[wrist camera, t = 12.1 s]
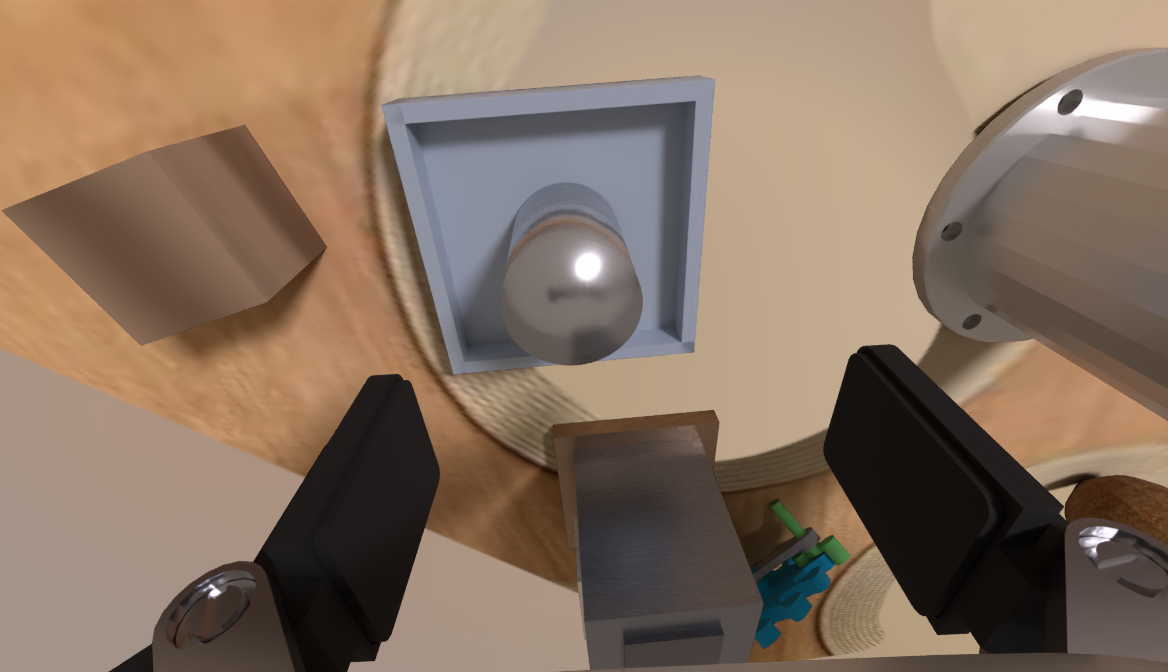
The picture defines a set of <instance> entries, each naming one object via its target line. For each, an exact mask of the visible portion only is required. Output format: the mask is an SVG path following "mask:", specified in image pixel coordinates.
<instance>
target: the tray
mask: <svg viewBox="0 0 1168 672" xmlns="http://www.w3.org/2000/svg"><path fill="white" fill-rule="evenodd" d="M714 86H715V79H712V78H707V77H703V76H699V75H698V76H686V77H674V78H660V79H647V80H634V81H621V82H609V83H596V84H583V85H570V86H557V87H544V88H532V89H518V90H505V91H492V92H480V93H467V94H454V95H441V96H428V97H415V98H402V99H396V100H394V101H391V102H388V103H386V104H383V105H381V106H382V110H383V114H384V118H385V121H386V125H387V129H388V132H389V136H390V140H391V144H392V147H393V151H394V155H395V159H396V162H397V166H398V170H399V173H400V177H401V181H402V185H403V188H404V192H405V196H406V200H407V203H408V207H409V211H410V214H411V218H412V222H413V226H414V229H415V233H416V237H417V241H418V244H419V248H420V252H421V255H422V259H423V263H424V267H425V270H426V274H427V278H428V281H429V285H430V289H431V293H432V296H433V300H434V304H435V308H436V311H437V315H438V319H439V322H440V326H441V330H442V334H443V337H444V341H445V345H446V349H447V352H448V356H449V360H450V363H451V367H452V371H453V374H462V373H473V372H484V371H495V370H506V369H517V368H528V367H539V366H549V365H558V364H553V363H549V362H546V361H543V360H540V359H538V358H536V357H534V356H532V355H530V354H528V353H527V352H526V351H524V350H523V349H522V348H520V347H519V346H518V345H517V344H516V343H515V341H514V340H513V339H512V338H511V336H510V335H509V333H508V332H507V330H506V328H505V325H504V323H503V320H502V316H501V309H500V300H501V293H502V287H503V282H504V276H505V271H506V265H507V259H508V254H509V248H510V243H511V237H512V232H513V226H514V222H515V218H516V215H517V213H518V211H519V209H520V207H521V206H522V205H523V203H524V202H525V201H526V200H527V199H528V198H529V197H530V196H531V195H532V194H533V193H535V192H536V191H538V190H539V189H541V188H543V187H546V186H548V185H552V184H556V183H576V184H580V185H584V186H587V187H589V188H591V189H593V190H595V191H596V192H598V193H599V194H600V195H601V196H603V197H604V198H605V199H606V200H607V202H608V203H609V204H610V206H611V207H612V209H613V211H614V213H615V215H616V218H617V221H618V224H619V226H620V229H621V232H622V235H623V238H624V241H625V243H626V246H627V249H628V252H629V255H630V258H631V260H632V263H633V266H634V269H635V272H636V274H637V277H638V280H639V283H640V286H641V290H642V295H643V308H642V314H641V318H640V321H639V323H638V326H637V328H636V329H635V331H634V333H633V334H632V336H631V337H630V338H629V340H628V341H627V342H626V343H625V344H624V345H623V346H622V347H620V348H619V349H618V350H617V351H615V352H614V353H612V354H611V355H609V356H607V357H605V358H603V359H600V360H598V361H605V360H616V359H627V358H638V357H649V356H659V355H671V354H682V353H692V352H694V346H695V334H696V321H697V308H698V294H699V282H700V269H701V256H702V242H703V230H704V216H705V204H706V191H707V178H708V165H709V152H710V139H711V126H712V113H713V99H714Z"/></svg>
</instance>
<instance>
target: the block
mask: <svg viewBox="0 0 1168 672" xmlns="http://www.w3.org/2000/svg"><path fill="white" fill-rule="evenodd" d="M2 211H3V212H4V213H5V214H6V215H7V216H8V217H9V218H10V219H11V220H12V221H13V222H14V223H15V224H16V225H17V226H18V227H19V228H20V229H21V230H22V231H23V232H24V233H25V234H26V235H27V236H28V237H29V238H30V239H31V240H33V241H34V242H35V243H36V244H37V245H38V246H39V247H40V248H41V249H42V250H43V251H44V252H45V253H46V254H47V255H48V256H49V257H50V258H51V259H52V260H53V261H54V262H55V263H56V264H57V265H58V266H59V267H60V268H61V269H62V270H63V271H64V272H66V273H67V274H68V275H69V276H70V277H71V278H72V279H73V280H74V281H75V282H76V283H77V284H78V285H79V286H80V287H81V288H82V289H83V290H84V291H85V292H86V293H87V294H88V295H89V296H90V297H91V298H92V299H93V300H94V301H95V302H96V303H98V304H99V305H100V306H101V307H102V308H103V309H104V310H105V311H106V312H107V313H108V314H109V315H110V316H111V317H112V318H113V319H114V320H115V321H116V322H117V323H118V324H119V325H120V326H121V327H122V328H123V329H124V330H125V331H126V332H127V333H128V334H129V335H131V336H132V337H133V338H134V339H135V340H136V341H137V342H138V343H139V344H140V345H141V346H142V345H145V344H148V343H151V342H154V341H157V340H159V339H162V338H165V337H168V336H171V335H174V334H177V333H180V332H182V331H185V330H188V329H191V328H194V327H197V326H200V325H203V324H205V323H208V322H211V321H214V320H217V319H220V318H223V317H225V316H228V315H231V314H234V313H237V312H240V311H243V310H246V309H248V308H251V307H254V306H257V305H260V304H263V303H266V302H268V301H269V300H270V299H271V298H272V297H273V296H274V295H276V294H277V293H278V292H279V291H280V290H281V289H282V288H283V287H284V286H285V285H286V284H287V283H288V282H290V281H291V280H292V279H293V278H294V277H295V276H296V275H297V274H298V273H299V272H300V271H301V270H303V269H304V268H305V267H306V266H307V265H308V264H309V263H310V262H311V261H312V260H313V259H314V258H315V257H317V256H318V255H319V254H320V253H321V252H322V251H323V250H324V249H325V248H326V247H327V246H326V245H325V243H324V242H323V240H322V239H321V237H320V236H319V234H318V233H317V231H316V230H315V228H314V227H313V225H312V224H311V222H310V221H309V219H308V218H307V216H306V215H305V213H304V212H303V210H302V209H301V208H300V206H299V205H298V203H297V202H296V200H295V199H294V197H293V196H292V194H291V193H290V191H289V190H288V188H287V187H286V185H285V184H284V182H283V181H282V179H281V178H280V176H279V175H278V173H277V172H276V170H275V169H274V167H273V166H272V164H271V163H270V161H269V160H268V158H267V157H266V155H265V154H264V152H263V151H262V149H261V148H260V146H259V145H258V143H257V142H256V140H255V139H254V137H253V136H252V135H251V133H250V132H249V130H248V129H247V127H246V126H245V125H242V126H239V127H235V128H231V129H228V130H224V131H220V132H217V133H213V134H209V135H206V136H202V137H198V138H195V139H191V140H187V141H184V142H180V143H176V144H173V145H169V146H165V147H162V148H158V149H154V150H151V151H147V152H145V153H142V154H140V155H137V156H135V157H132V158H130V159H127V160H125V161H122V162H120V163H117V164H115V165H112V166H110V167H108V168H105V169H103V170H100V171H98V172H95V173H93V174H90V175H88V176H85V177H83V178H80V179H78V180H75V181H73V182H70V183H68V184H65V185H63V186H60V187H58V188H56V189H53V190H51V191H48V192H46V193H43V194H41V195H38V196H36V197H33V198H31V199H28V200H26V201H23V202H21V203H18V204H16V205H13V206H11V207H8V208H6V209H4V210H2Z"/></svg>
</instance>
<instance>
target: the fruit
mask: <svg viewBox="0 0 1168 672" xmlns="http://www.w3.org/2000/svg"><path fill="white" fill-rule="evenodd" d="M1065 518H1066V520H1067V522H1068V523H1069V524H1070V523H1071V522H1073V521H1074V520H1076V519H1082V518H1099V519H1107V520H1111V521H1114V522H1118V523H1121V524H1124V525H1128V526H1130V527H1132V528H1135V529H1137V530H1139V531H1141V532H1144V533H1146V534H1148V535H1150V536H1152V537H1154V538H1155V539H1157V540H1159V541H1160V542H1162V543H1164V544H1165V545H1167V546H1168V488H1166V487H1164V486H1162V485H1159V484H1155V483H1152V482H1148V481H1146V480H1142V479H1139V478H1135V477H1130V476H1125V475H1114V476H1106V477H1099V478H1092V479H1086V480H1083V481H1081V482H1079V483H1078V484H1077V485H1076V486H1075V488H1074V490H1073V491H1072V493H1071V495H1070V496H1069V497H1068V500H1067V501H1066V503H1065Z"/></svg>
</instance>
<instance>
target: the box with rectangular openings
mask: <svg viewBox="0 0 1168 672" xmlns="http://www.w3.org/2000/svg"><path fill="white" fill-rule="evenodd" d="M718 429H719V420H718V418H717V416H716V414H715V411H714V410H708V411H699V412H687V413H676V414H666V415H655V416H645V417H634V418H623V419H612V420H602V421H591V422H580V423H570V424H559V425H553V440H554V447H555V454H556V462H557V469H558V476H559V483H560V491H561V498H562V505H563V513H564V520H565V527H566V535H567V542H568V549H575V550H576V568H577V584H578V591H579V599H580V607H581V614H582V623H583V630H584V638H585V639H586V640H587V648H588V656H589V664H590V670H601V669H623V668H645V667H667V666H688V665H711V664H733V663H748V660H749V656H750V653H751V649H752V645H753V641H754V638H755V634H756V630H757V627H758V623H759V619H760V615H761V612H762V608H763V604H764V603H763V600H762V598H761V595H760V593H759V590H758V587H757V585H756V582H755V580H754V577H753V574H752V572H751V569H750V567H749V564H748V561H747V559H746V556H745V554H744V551H743V548H742V546H741V543H740V541H739V538H738V535H737V533H736V530H735V528H734V525H733V522H732V520H731V517H730V515H729V512H728V509H727V507H726V504H725V502H724V499H723V496H722V494H721V491H720V489H719V486H718V484H717V481H716V478H715V476H714V473H713V470H714V462H715V454H716V453H715V452H716V445H717V438H718Z"/></svg>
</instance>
